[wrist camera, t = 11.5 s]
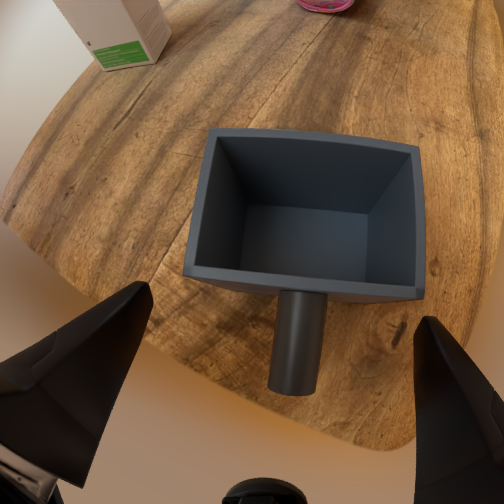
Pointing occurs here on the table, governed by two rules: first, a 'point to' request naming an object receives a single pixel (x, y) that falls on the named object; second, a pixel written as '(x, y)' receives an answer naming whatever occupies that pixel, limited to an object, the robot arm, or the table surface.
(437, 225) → the table surface
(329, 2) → the pencil case
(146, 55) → the cosmetic box
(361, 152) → the grey box with peg
